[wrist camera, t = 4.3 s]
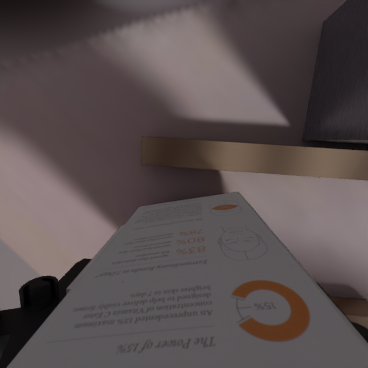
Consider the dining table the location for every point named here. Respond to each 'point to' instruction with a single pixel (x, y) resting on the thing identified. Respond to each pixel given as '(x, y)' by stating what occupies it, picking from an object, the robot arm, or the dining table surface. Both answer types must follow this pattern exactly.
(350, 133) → the grey block with hole
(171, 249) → the small box
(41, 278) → the robot arm
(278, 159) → the track
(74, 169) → the dining table surface
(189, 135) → the dining table surface
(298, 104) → the dining table surface
